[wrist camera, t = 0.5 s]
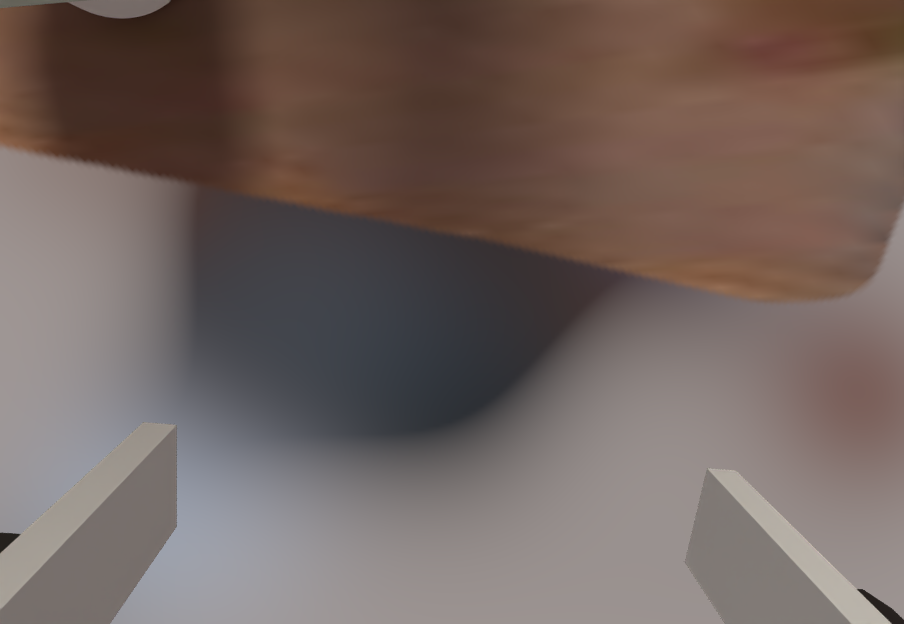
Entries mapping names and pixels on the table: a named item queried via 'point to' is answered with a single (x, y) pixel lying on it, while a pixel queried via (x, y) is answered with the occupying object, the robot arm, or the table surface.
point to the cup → (120, 7)
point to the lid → (30, 2)
